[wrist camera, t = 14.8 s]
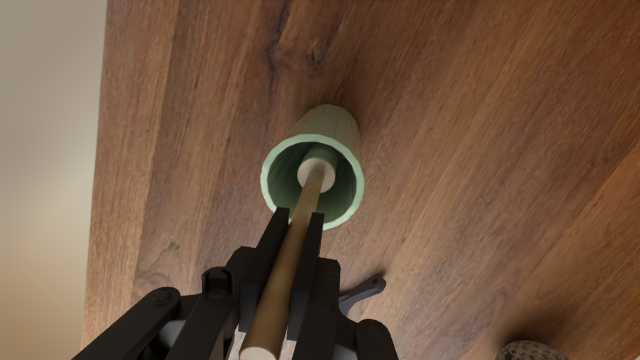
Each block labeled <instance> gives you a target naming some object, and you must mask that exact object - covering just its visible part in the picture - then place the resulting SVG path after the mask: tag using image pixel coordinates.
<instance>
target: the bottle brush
mask: <svg viewBox="0 0 640 360" xmlns="http://www.w3.org/2000/svg"><path fill="white" fill-rule="evenodd" d="M337 163H338V153H337V150H336V149H335V148H334V147H332V146H330V145H327V144H323V143H320V142H316V143H314V144H312V145H311V146H310V147H309V149H308V151H307V153H306V155H305V157H304V159H303V161H302V163H301V165H300V167H299V169H298V173H297V177H298V181H299V183H300V185H301V186H302V187H303V189H302V192H301V194H300V197H299V200H298V202H297V205H296V207H295V210H294V212H293V215H292V218H291V220H290V223H289V225H288V228H287V231H286V233H285V236H284V238H283V241H282V243H281V246H280V248H279V251H278V254H277V256H276V259H275V261H274V264H273V266H272V269H271V272H270V274H269V277H268V279H267V282H266V284H265V287H264V289H263V292H262V295H261V297H260V300H259V302H258V305H257V307H256V310H255V312H254V315H253V317H252V320H251V322H250V325H249V328H248V330H247V333H246V335H245V338H244V340H243V343H242V346H241V348H240V351H239V360H279V358H280V354H281V350H282V346H283V342H284V338H285V334H286V330H287V326H288V322H289V318H290V312H289V308H290V298H291V288H292V285H293V281H294V277H295V274H296V270H297V266H298V263H299V259H300V255H301V251H302V248H303V244H304V240H305V237H306V233H307V229H308V226H309V222H310V218H311V215H312V212H316V208H317V204H318V200H319V196H320V193H323V192H325V191H327V190H329V189H330V188H331V187H332V185H333V184H334V181H335V176H336V169H337Z"/></svg>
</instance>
